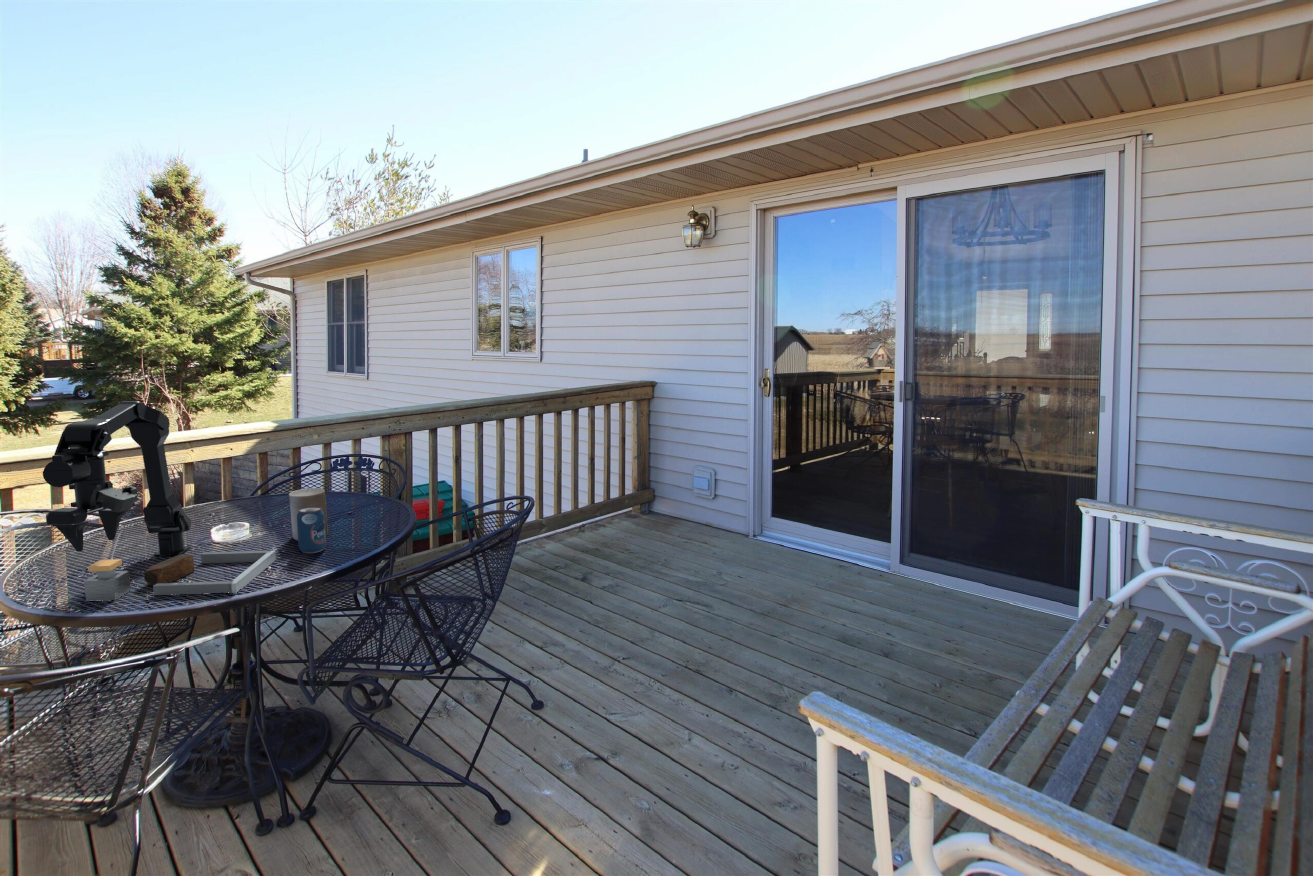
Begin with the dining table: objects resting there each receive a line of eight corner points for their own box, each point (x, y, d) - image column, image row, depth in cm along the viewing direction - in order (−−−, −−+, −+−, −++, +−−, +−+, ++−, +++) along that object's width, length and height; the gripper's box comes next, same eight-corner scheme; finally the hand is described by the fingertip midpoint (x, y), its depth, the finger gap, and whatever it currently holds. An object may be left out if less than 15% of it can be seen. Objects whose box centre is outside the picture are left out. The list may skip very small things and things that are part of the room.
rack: (204, 561, 185) (203, 552, 185) (276, 559, 188) (275, 550, 187) (154, 596, 162) (152, 586, 162) (236, 593, 165) (235, 583, 164)
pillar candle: (335, 532, 212) (331, 484, 209) (316, 542, 202) (312, 492, 200) (304, 531, 213) (301, 483, 210) (285, 540, 203) (280, 491, 201)
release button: (103, 581, 163) (100, 559, 162) (123, 580, 164) (121, 559, 163) (91, 588, 159) (88, 566, 158) (112, 587, 159) (109, 565, 158)
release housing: (103, 591, 164) (100, 571, 163) (131, 590, 165) (128, 571, 164) (86, 602, 158) (83, 581, 157) (115, 601, 159) (112, 580, 158)
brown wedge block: (182, 571, 179) (180, 553, 178) (195, 572, 178) (193, 554, 177) (144, 586, 168) (142, 568, 168) (158, 587, 168) (156, 569, 167)
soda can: (318, 554, 192) (316, 512, 190) (294, 553, 192) (291, 512, 190) (330, 546, 199) (328, 505, 197) (307, 545, 199) (304, 505, 197)
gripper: (93, 487, 148) (99, 558, 150) (154, 471, 167) (159, 535, 168) (40, 486, 148) (47, 557, 150) (107, 471, 166) (113, 534, 168)
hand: (96, 545), depth 159 cm, fingers open, 9 cm apart
